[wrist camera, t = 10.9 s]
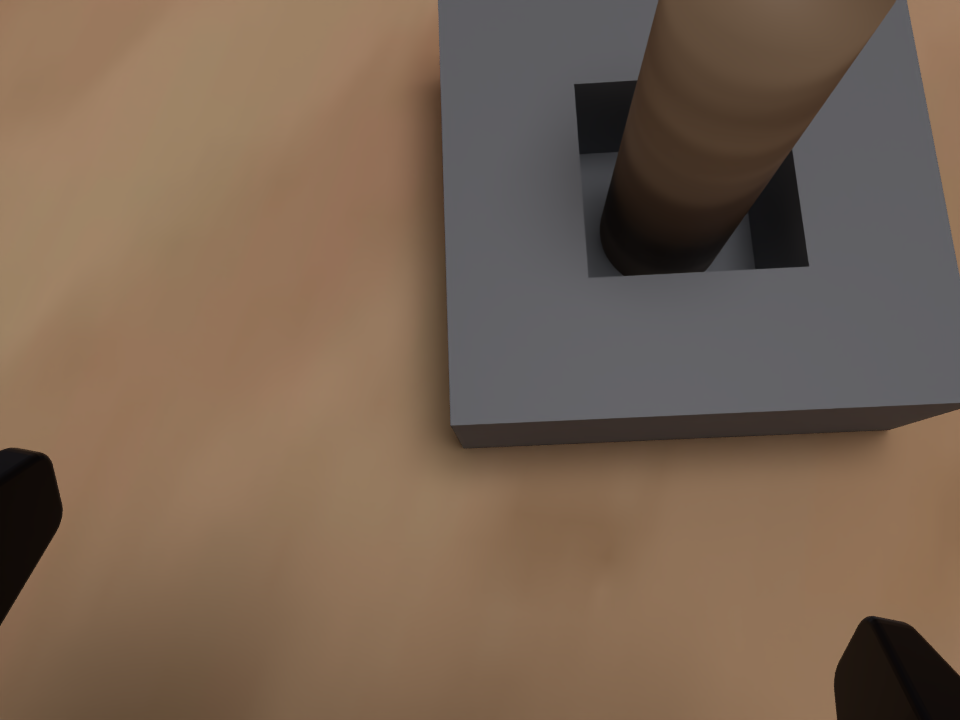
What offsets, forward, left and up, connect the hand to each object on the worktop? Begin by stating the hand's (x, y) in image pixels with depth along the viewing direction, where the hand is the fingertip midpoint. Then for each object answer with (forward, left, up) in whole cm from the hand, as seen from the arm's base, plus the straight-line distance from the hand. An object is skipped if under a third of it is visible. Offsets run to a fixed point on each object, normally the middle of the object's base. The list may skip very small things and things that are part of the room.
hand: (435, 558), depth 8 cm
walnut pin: (+9, -5, -13) cm, 16 cm away
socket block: (+9, -5, -13) cm, 17 cm away
